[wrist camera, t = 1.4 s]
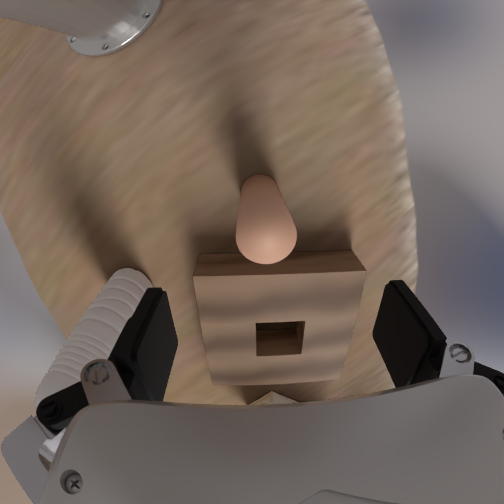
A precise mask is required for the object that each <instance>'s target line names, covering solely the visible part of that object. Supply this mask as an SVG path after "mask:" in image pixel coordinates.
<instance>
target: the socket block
mask: <svg viewBox="0 0 504 504" xmlns="http://www.w3.org/2000/svg"><path fill="white" fill-rule="evenodd" d="M365 277H366V269H365V268H364V266H363V265H362V263H361V262H360V261H359V259H358V258H357V256H356V255H355V254H354V252H353V251H352V250H339V251H302V252H291V253H290V254H289V255H288V256H287V257H285V258H284V259H282V260H281V261H279V262H276V263H272V264H259V263H255V262H253V261H251V260H249V259H247V258H246V257H245V256H244V255H243V254H242V253H227V254H200V257H199V259H198V262H197V265H196V268H195V271H194V274H193V282H194V288H195V294H196V300H197V306H198V312H199V318H200V324H201V329H202V335H203V340H204V345H205V350H206V355H207V360H208V365H209V370H210V375H211V379H212V384H213V385H272V384H290V383H303V382H314V381H323V380H332V379H339V378H340V375H341V371H342V368H343V365H344V362H345V358H346V355H347V351H348V348H349V344H350V341H351V337H352V333H353V329H354V325H355V322H356V317H357V313H358V309H359V305H360V300H361V296H362V291H363V286H364V282H365ZM292 321H297V325H296V328H293V329H272V330H256V323H269V322H292Z"/></svg>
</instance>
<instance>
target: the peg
mask: <svg viewBox="0 0 504 504" xmlns="http://www.w3.org/2000/svg"><path fill="white" fill-rule="evenodd" d="M296 240H297V231H296V227H295V224H294V222H293V220H292V217H291V215H290V213H289V210H288V208H287V206H286V204H285V201H284V199H283V197H282V195H281V192H280V190H279V188H278V186H277V184H276V182H275V181H274V180H273V179H272V178H271V177H269V176H267V175H262V174H258V175H253V176H251V177H249V178H248V179H247V180H246V181H245V182H244V183H243V185H242V188H241V195H240V203H239V211H238V219H237V228H236V243H237V246H238V248H239V250H240V252H241V253H242V254H243V255H244V256H245V257H246V258H247V259H249V260H251V261H253V262H255V263H259V264H272V263H276V262H279V261H281V260H282V259H284V258H285V257H287V256H288V255H289V254H290V253H291V251H292V250H293V248H294V246H295V244H296Z"/></svg>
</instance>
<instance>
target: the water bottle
mask: <svg viewBox="0 0 504 504" xmlns="http://www.w3.org/2000/svg"><path fill="white" fill-rule="evenodd" d="M147 288H153V285H152V283H151V282H150V280H148V279H147V277H146V276H145V275H144V274H143V273H141V272H140V271H137V270H134V269H132V268H123V269H119V270H117V271H116V272H115V273H114V274H113V275H112V276H111V278H110V279H109V280H108V282H107V283H106V284H105V285H104V287H103V288H102V290H101V291H100V293H99V294H98V295H97V296H96V298H95V299H94V301H93V303H91V305H90V306H89V308H88V309H87V311H86V312H85V313H84V315H83V316H82V318H81V319H80V321H79V323H78V324H77V325H76V326H75V328H74V329H73V331H72V333H71V334H70V336H69V338H68V339H67V341H66V343H65V344H64V345H63V347H62V349H61V350H60V352H59V354H58V355H57V356H56V358H55V360H54V362H53V363H52V365H51V367H50V368H49V370H48V373H46V375H45V376H44V378H43V380H42V381H41V383H40V385H39V387H38V389H37V392H36V397H35V403H36V410H37V406H38V404H39V403H40V402H41V401H42V399H44V398H46V397H47V396H50V395H52V394H54V393H56V392H58V391H60V390H62V389H65V388H67V387H69V386H71V385H73V384H75V383H77V382H79V381H81V378H80V374H81V370H82V369H83V367H84V366H85V365H86V364H87V363H89V362H91V361H92V360H96V359H108V357H109V355H110V353H111V351H112V349H113V347H114V345H115V343H116V341H117V339H118V337H119V335H120V334H121V332H122V330H123V328H124V326H125V324H126V322H127V320H128V319H129V318H130V317H132V315H133V313H134V311H135V310H136V308H137V306H138V304H139V302H140V300H141V298H142V297H143V295H144V293H145V291H146V289H147Z"/></svg>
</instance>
